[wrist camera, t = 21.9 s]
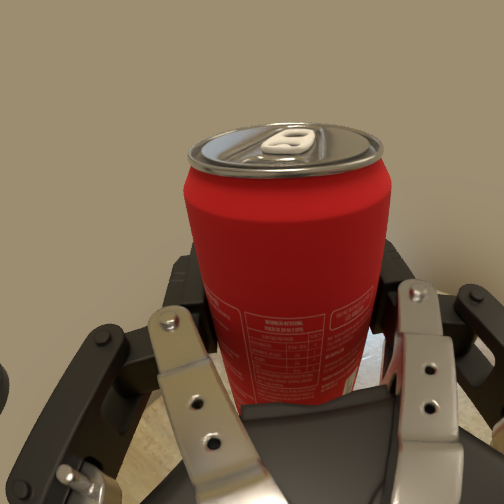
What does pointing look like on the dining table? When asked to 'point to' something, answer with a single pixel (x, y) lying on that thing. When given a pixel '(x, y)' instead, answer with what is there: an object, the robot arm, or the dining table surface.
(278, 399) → the beverage can
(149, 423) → the dining table surface
